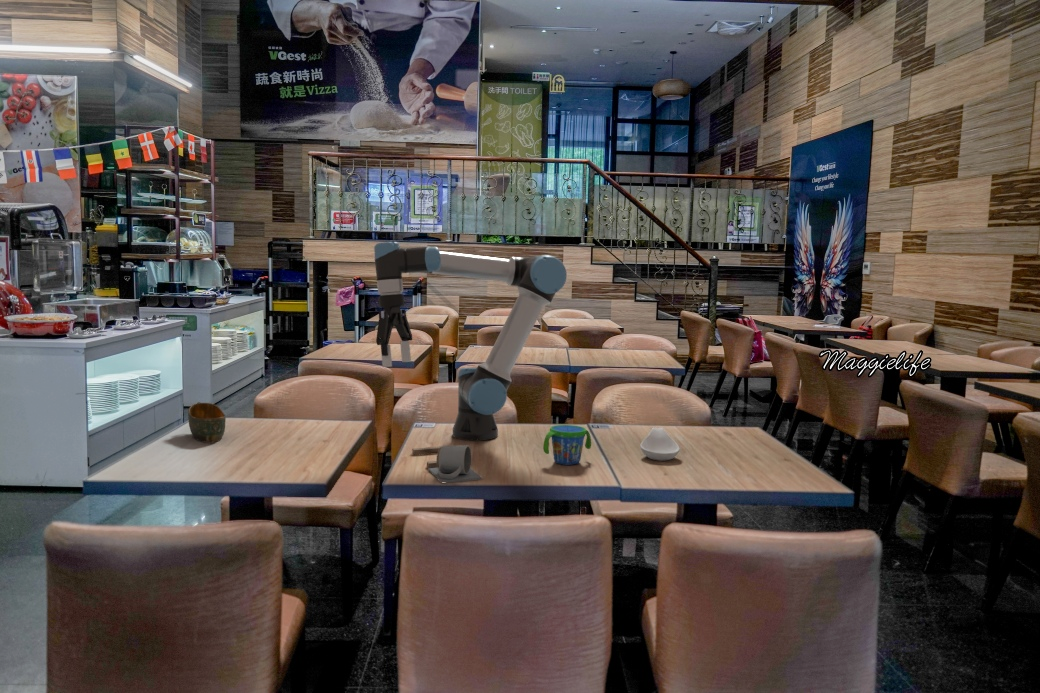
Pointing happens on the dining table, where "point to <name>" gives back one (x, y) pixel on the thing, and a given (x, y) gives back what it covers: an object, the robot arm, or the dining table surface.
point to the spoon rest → (659, 445)
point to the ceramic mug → (453, 461)
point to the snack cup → (567, 443)
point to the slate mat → (461, 477)
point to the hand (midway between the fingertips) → (397, 364)
